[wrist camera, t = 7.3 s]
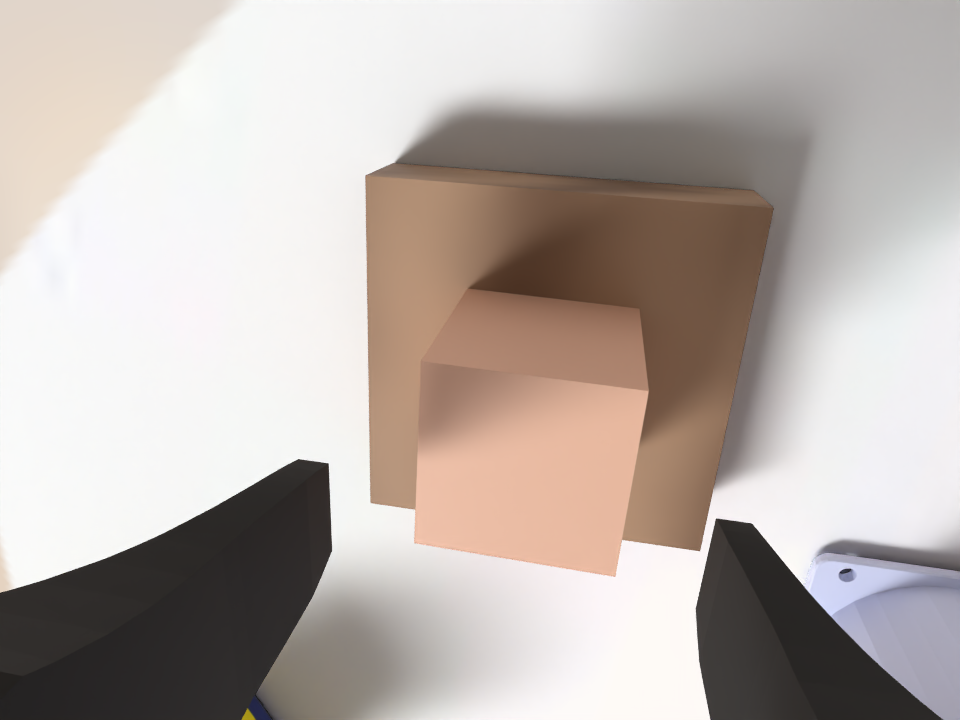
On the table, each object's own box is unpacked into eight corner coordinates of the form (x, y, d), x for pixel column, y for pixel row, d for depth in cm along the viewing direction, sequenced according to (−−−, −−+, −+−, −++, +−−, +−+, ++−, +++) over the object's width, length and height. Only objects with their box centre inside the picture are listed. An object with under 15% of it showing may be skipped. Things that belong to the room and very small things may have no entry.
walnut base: (753, 190, 19) (773, 207, 16) (690, 502, 23) (700, 551, 20) (393, 162, 20) (365, 175, 18) (393, 461, 24) (370, 503, 22)
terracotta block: (639, 308, 18) (648, 391, 13) (614, 458, 20) (614, 577, 15) (467, 288, 19) (420, 360, 14) (458, 436, 20) (414, 543, 16)
